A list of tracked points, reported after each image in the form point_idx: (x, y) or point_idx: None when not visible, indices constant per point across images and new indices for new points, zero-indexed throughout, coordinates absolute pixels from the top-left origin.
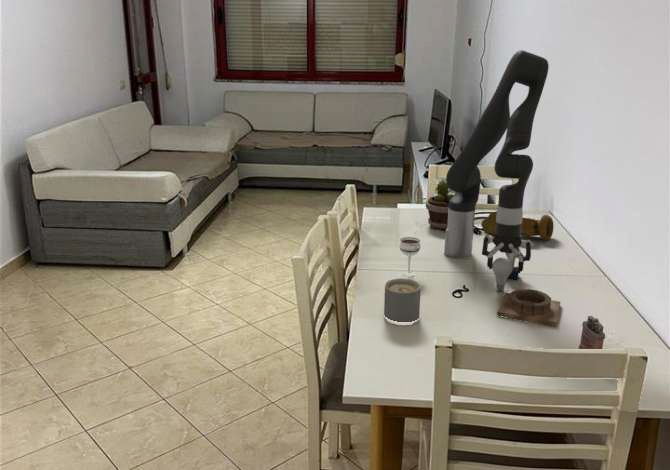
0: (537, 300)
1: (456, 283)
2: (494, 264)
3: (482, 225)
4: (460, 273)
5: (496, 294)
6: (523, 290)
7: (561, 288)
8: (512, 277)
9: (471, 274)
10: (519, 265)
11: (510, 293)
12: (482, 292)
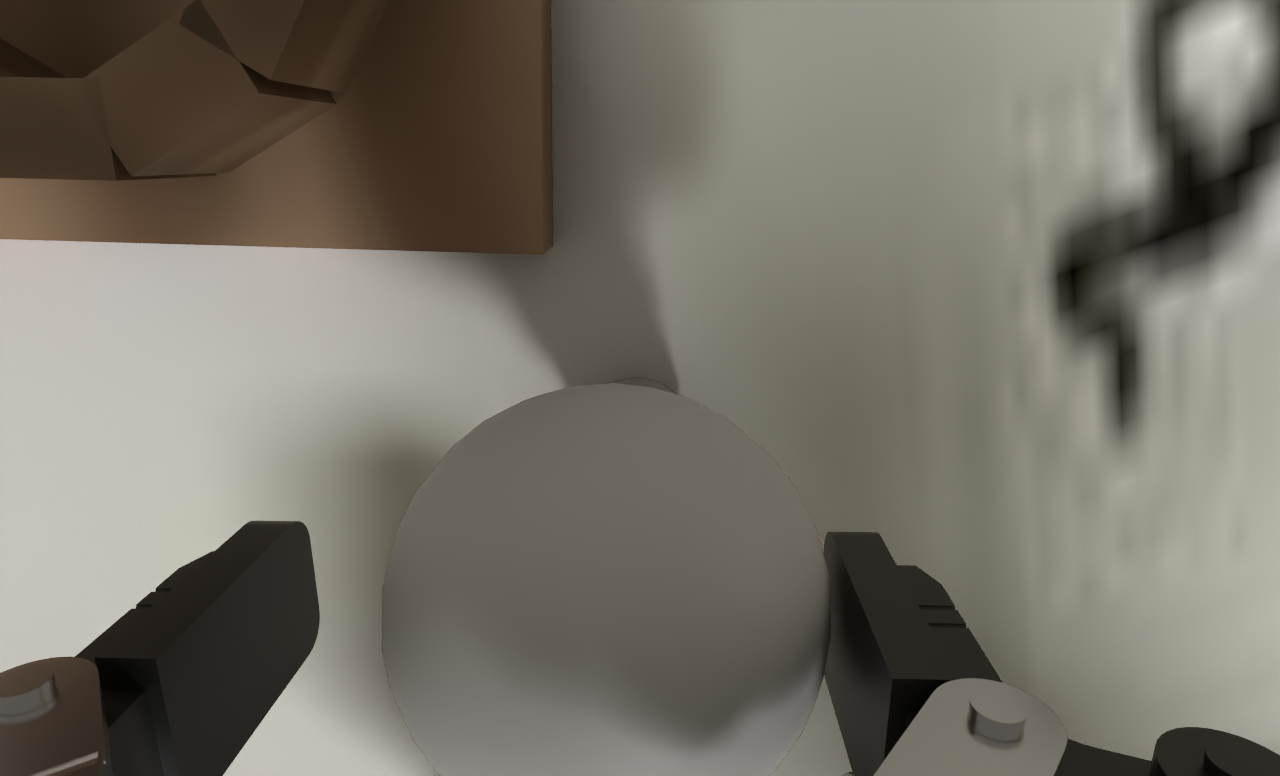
0: (21, 64)
1: (1235, 443)
2: (783, 533)
3: None
4: None
5: (665, 286)
6: (164, 73)
7: None
8: None
9: None
10: (181, 606)
11: (461, 247)
12: (856, 280)
